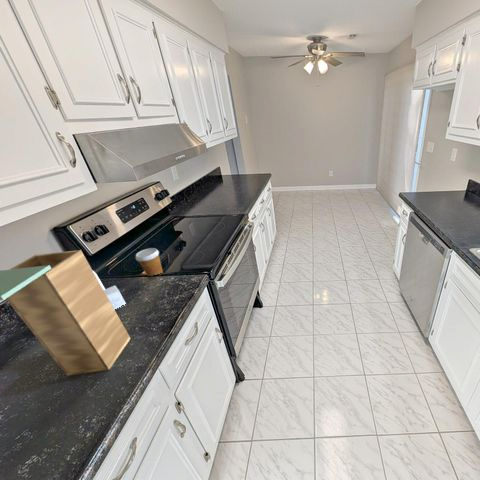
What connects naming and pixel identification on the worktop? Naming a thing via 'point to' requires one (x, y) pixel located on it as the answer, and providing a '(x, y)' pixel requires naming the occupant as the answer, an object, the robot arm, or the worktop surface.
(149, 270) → the disposable coffee cup
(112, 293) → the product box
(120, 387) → the worktop surface
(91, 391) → the worktop surface
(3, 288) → the sliding top
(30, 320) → the tall bin
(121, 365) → the worktop surface
